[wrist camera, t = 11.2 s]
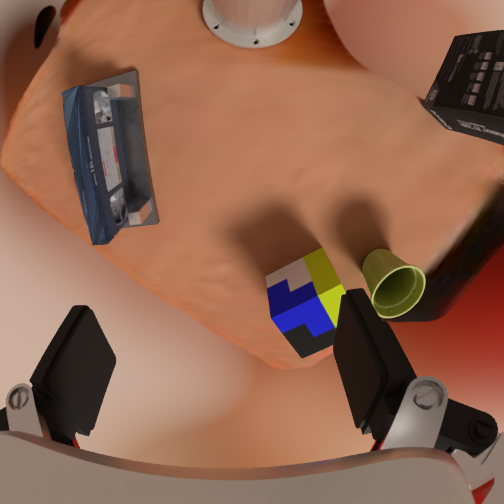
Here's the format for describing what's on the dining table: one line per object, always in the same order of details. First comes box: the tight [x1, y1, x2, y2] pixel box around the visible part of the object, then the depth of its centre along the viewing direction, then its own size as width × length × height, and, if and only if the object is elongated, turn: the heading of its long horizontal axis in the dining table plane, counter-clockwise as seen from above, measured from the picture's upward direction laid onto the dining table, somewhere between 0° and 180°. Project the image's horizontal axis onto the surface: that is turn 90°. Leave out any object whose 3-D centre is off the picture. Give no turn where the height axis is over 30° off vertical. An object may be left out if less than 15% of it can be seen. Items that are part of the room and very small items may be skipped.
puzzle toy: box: [265, 247, 346, 358], centre depth 42 cm, size 10×10×10 cm
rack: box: [63, 70, 159, 231], centre depth 32 cm, size 22×9×6 cm, turn 4°
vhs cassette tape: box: [62, 86, 133, 245], centre depth 29 cm, size 18×3×10 cm, turn 2°
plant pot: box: [362, 249, 425, 318], centre depth 41 cm, size 9×9×9 cm
